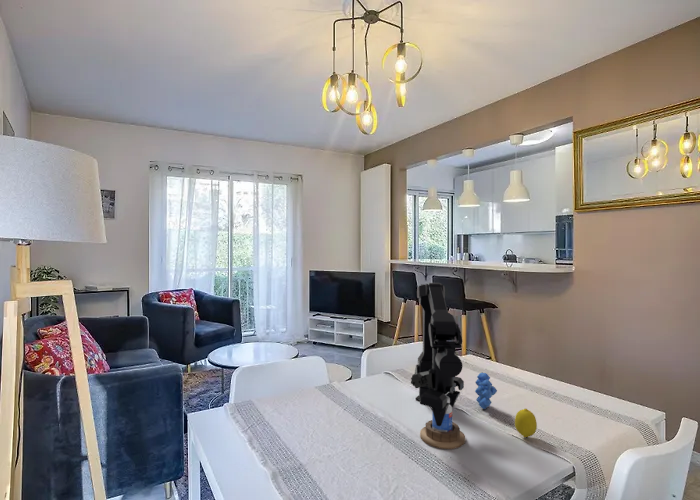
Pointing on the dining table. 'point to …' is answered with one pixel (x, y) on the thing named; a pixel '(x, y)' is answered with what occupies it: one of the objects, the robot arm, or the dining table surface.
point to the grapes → (484, 390)
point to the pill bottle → (444, 420)
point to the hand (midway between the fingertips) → (442, 421)
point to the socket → (442, 437)
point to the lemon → (525, 423)
